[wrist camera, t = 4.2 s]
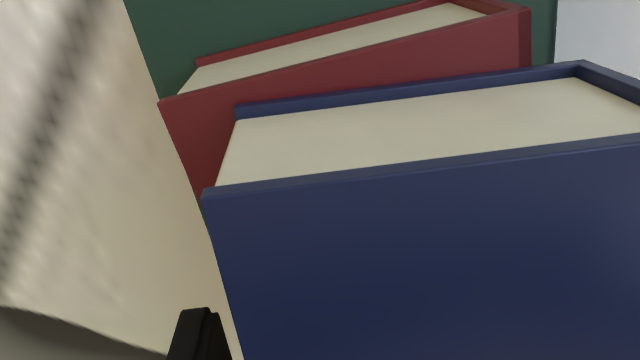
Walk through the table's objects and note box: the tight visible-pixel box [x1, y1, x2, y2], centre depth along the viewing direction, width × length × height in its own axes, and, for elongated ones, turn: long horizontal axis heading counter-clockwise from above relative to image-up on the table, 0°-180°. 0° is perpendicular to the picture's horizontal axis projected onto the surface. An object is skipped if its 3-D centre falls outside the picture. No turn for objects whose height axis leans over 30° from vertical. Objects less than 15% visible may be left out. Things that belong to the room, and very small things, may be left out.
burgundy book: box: [157, 0, 532, 208], centre depth 13 cm, size 7×13×4 cm, turn 13°
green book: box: [123, 0, 558, 239], centre depth 16 cm, size 11×16×4 cm
